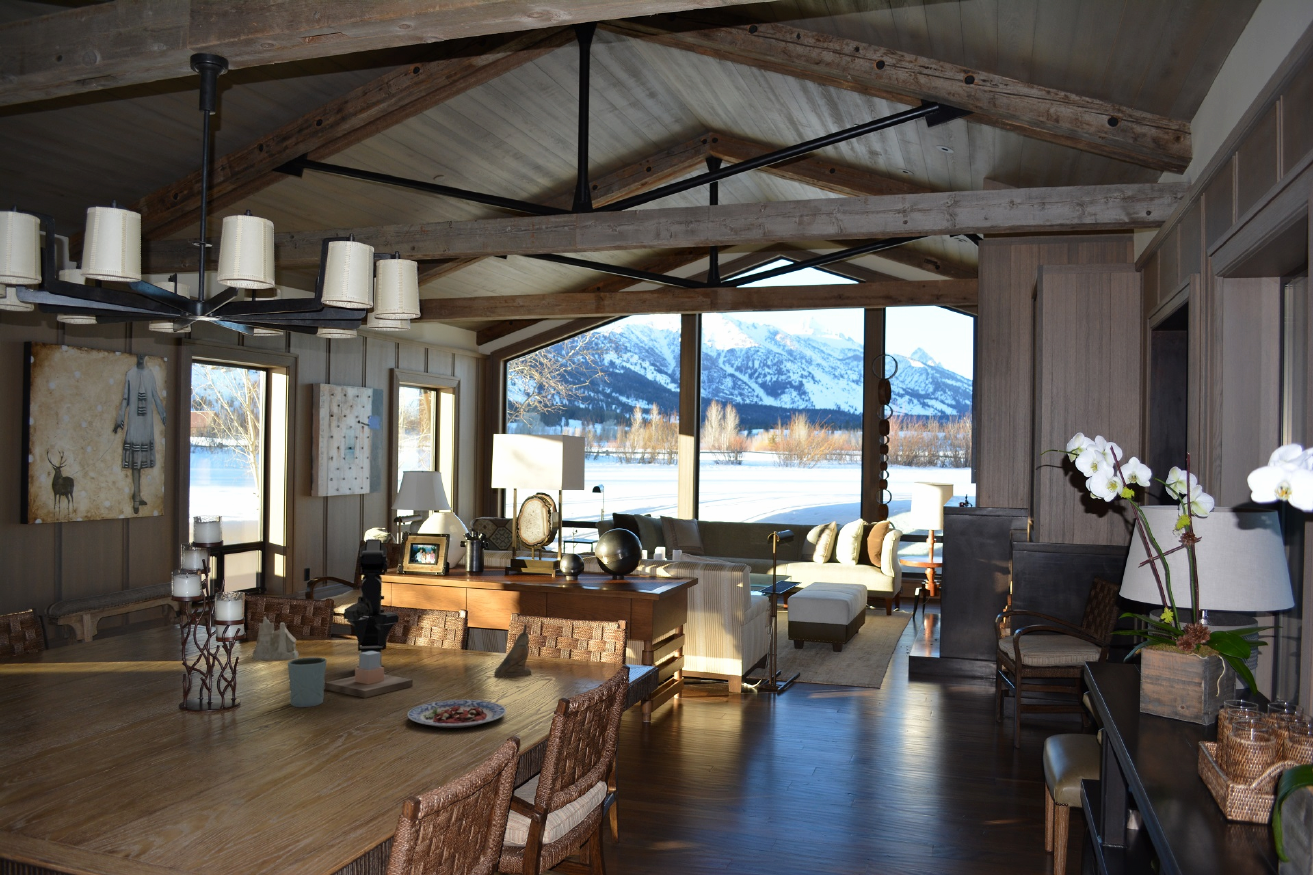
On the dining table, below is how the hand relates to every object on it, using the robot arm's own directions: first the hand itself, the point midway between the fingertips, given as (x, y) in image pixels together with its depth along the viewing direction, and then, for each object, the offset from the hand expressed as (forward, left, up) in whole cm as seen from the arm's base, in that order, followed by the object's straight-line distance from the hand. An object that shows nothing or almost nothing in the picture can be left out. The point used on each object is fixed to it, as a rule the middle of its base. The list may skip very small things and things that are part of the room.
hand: (370, 644), depth 282 cm
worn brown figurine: (+23, +39, -13) cm, 47 cm away
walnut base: (0, 0, -13) cm, 13 cm away
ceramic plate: (+47, -10, -14) cm, 50 cm away
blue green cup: (+1, -23, -13) cm, 27 cm away
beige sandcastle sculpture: (-64, +13, -13) cm, 67 cm away
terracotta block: (0, 0, -11) cm, 11 cm away
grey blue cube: (0, 0, -7) cm, 7 cm away
